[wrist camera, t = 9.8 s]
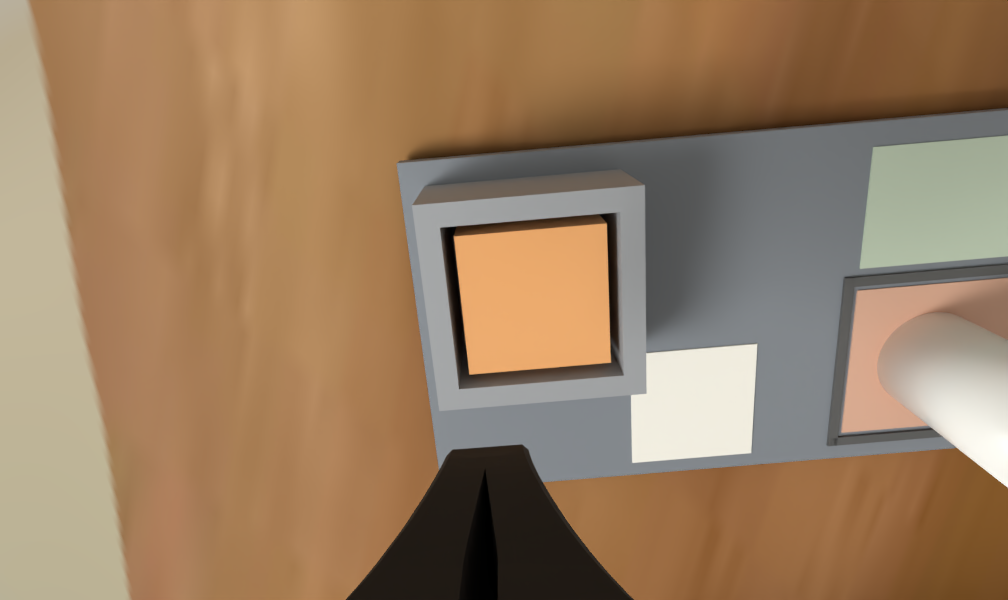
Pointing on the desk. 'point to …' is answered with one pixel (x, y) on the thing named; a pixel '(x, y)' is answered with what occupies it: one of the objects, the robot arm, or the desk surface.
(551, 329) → the button
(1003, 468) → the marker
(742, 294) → the grey sorting board
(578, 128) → the desk surface
